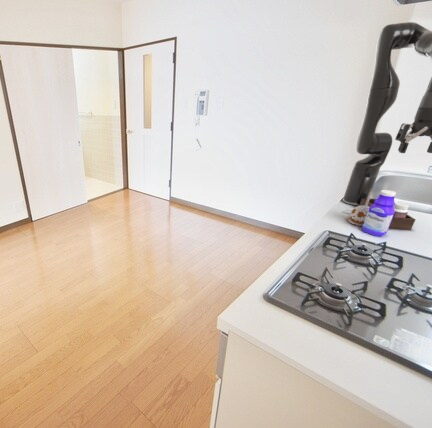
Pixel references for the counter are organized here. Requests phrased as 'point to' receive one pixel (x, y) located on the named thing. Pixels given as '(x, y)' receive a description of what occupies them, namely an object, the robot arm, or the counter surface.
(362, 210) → the decorative ornament
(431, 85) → the robot arm
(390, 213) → the bottle
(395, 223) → the organiser
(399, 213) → the pill bottle
